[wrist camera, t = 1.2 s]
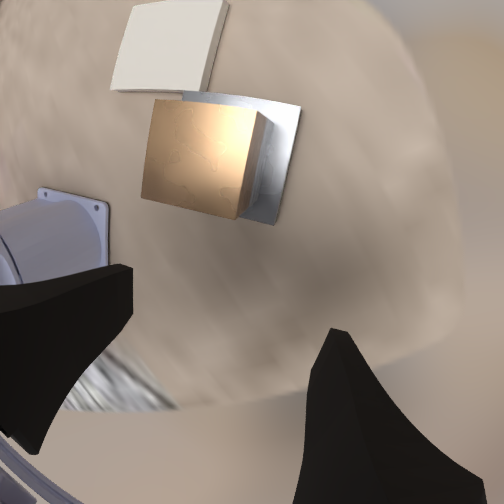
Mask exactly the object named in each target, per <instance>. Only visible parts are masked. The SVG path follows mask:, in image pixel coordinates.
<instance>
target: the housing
mask: <svg viewBox="0 0 504 504" xmlns="http://www.w3.org/2000/svg"><path fill="white" fill-rule="evenodd" d="M273 125H274V123H273V122H272V121H271V120H269V119H268V118H267V117H265V116H264V115H263V114H261V113H260V112H259V111H257V110H253V109H247V108H240V107H233V106H226V105H218V104H210V103H200V102H189V101H176V100H158V99H155V103H154V108H153V114H152V119H151V125H150V131H149V137H148V143H147V150H146V157H145V165H144V173H143V182H142V192H141V198H143V199H148V200H152V201H156V202H161V203H165V204H169V205H174V206H178V207H182V208H186V209H191V210H195V211H199V212H203V213H207V214H211V215H215V216H219V217H223V218H227V219H231V220H236V219H237V218H238V217H239V216H240V215H241V214H242V213H243V212H244V211H245V210H247V209H248V208H249V207H250V206H251V205H252V204H253V203H254V202H256V201H257V200H258V195H259V190H260V186H261V181H262V176H263V172H264V167H265V162H266V158H267V153H268V148H269V144H270V139H271V135H272V130H273Z"/></svg>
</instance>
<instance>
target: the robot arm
mask: <svg viewBox="0 0 504 504" xmlns="http://www.w3.org/2000/svg"><path fill="white" fill-rule="evenodd" d="M97 206H99V209H98V207H97ZM108 210H109V209H108V205H107V204H106V203H105V202H103V201H98V200H94V199H90V198H86V197H82V196H78V195H74V194H69V193H65V192H61V191H57V190H53V189H48V188H44V187H41V188H39V189H38V198H37V199H34V200H31V201H28V202H25V203H22V204H19V205H16V206H13V207H10V208H7V209H4V210H1V211H0V431H1V432H2V433H3V434H5V436H6V437H7V438H9V437H11V438H12V439H13V440H15V442H17V443H18V444H19V445H20V446H21V447H22V448H23V449H24V450H25V451H26V452H27V453H29V454H31V455H37V454H39V451H40V448H41V446H42V443H43V441H44V438H45V436H46V434H47V431H48V429H49V427H50V425H51V423H52V421H53V419H54V417H55V415H56V413H57V411H58V410H59V408H60V406H61V405H62V403H63V401H64V400H65V398H66V396H67V395H68V393H69V392H70V390H71V389H72V387H73V386H74V384H75V383H76V382H77V380H78V379H79V377H80V376H81V375H82V373H83V372H84V371H85V370H86V369H87V368H88V366H89V365H90V364H91V363H92V362H93V361H94V360H95V359H96V358H97V357H98V356H99V355H100V354H101V353H102V351H103V350H104V349H105V348H106V347H107V346H108V345H109V344H110V343H111V342H112V341H113V340H114V339H115V338H116V336H117V335H118V334H119V333H120V332H121V330H122V329H123V328H124V326H125V325H126V324H127V322H128V321H129V319H130V318H131V316H132V315H133V268H131V267H128V266H125V265H122V264H113V265H108ZM0 459H1V460H2V462H4V463H5V465H6V466H8V467H9V469H11V470H12V471H13V472H14V473H15V474H16V475H17V476H18V477H19V478H20V479H21V480H22V481H23V482H25V483H26V484H27V485H28V486H29V487H30V488H31V489H33V490H34V491H35V492H36V493H37V494H39V495H40V496H41V497H42V498H44V499H45V500H46V501H47V502H49V503H50V504H84V503H82V502H80V501H79V500H77V499H76V498H74V497H73V496H71V495H70V494H68V493H67V492H66V491H64V490H63V489H61V488H60V487H59V486H57V485H56V484H55V483H53V482H52V481H51V480H49V479H48V478H47V477H45V476H44V475H43V474H42V473H40V472H39V471H38V470H37V469H36V468H34V467H33V466H32V465H31V464H30V463H28V462H27V461H26V460H25V459H24V458H23V457H22V456H21V455H19V454H18V452H16V451H15V450H14V449H13V448H12V447H11V446H10V445H9V444H8V443H7V442H6V441H5V440H4V439H3V438H2V437H1V436H0ZM36 502H37V500H36V498H34V497H33V496H32V495H31V494H30V493H29V492H28V491H27V490H26V489H25V488H24V487H23V486H22V485H20V484H19V483H18V482H17V481H16V480H15V479H14V478H12V477H11V476H10V475H9V474H8V473H7V472H6V471H4V470H3V469H2V468H1V467H0V504H36ZM293 504H487V500H486V495H485V489H484V483H483V481H482V479H481V478H479V477H478V476H476V475H474V474H473V473H471V472H470V471H468V470H466V469H465V468H463V467H462V466H460V465H458V464H457V463H456V462H454V461H453V460H452V459H450V458H449V457H448V456H446V455H445V454H444V453H443V452H441V451H440V450H439V449H438V448H437V447H436V446H434V445H433V444H432V443H431V442H430V441H429V440H428V439H427V438H426V437H425V436H424V435H423V434H422V433H420V431H419V430H418V429H417V428H416V427H415V426H414V425H413V424H412V423H411V422H410V421H409V420H408V419H407V418H406V416H405V415H404V414H403V413H402V412H401V410H400V409H399V408H398V407H397V406H396V404H395V403H394V402H393V401H392V399H391V398H390V397H389V395H388V394H387V393H386V391H385V390H384V388H383V387H382V386H381V384H380V383H379V381H378V380H377V378H376V377H375V375H374V374H373V372H372V370H371V369H370V367H369V366H368V364H367V362H366V361H365V359H364V358H363V356H362V354H361V353H360V351H359V349H358V348H357V346H356V344H355V343H354V341H353V339H352V338H351V336H350V335H349V333H348V332H346V331H342V330H338V329H334V328H330V331H329V333H328V335H327V337H326V339H325V342H324V344H323V346H322V348H321V350H320V353H319V355H318V357H317V359H316V361H315V363H314V365H313V367H312V369H311V373H310V379H309V385H308V391H307V403H306V424H305V442H304V453H303V461H302V466H301V470H300V475H299V480H298V484H297V488H296V492H295V496H294V500H293Z"/></svg>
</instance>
